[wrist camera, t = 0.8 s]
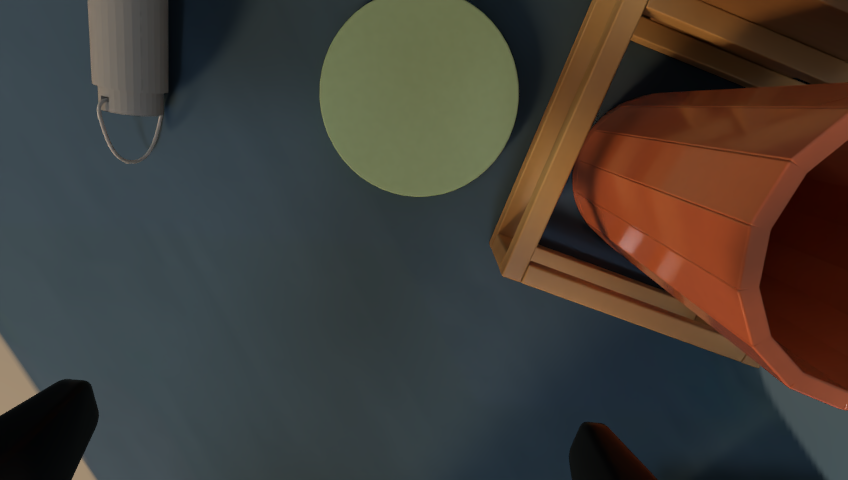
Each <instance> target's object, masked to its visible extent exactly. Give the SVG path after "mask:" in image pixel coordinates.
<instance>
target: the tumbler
mask: <svg viewBox="0 0 848 480" xmlns="http://www.w3.org/2000/svg"><path fill="white" fill-rule="evenodd" d="M573 193H574V197H575V201H576V205H577V207H578V209H579V212H580V214H581V215H582V217H583V219H584V220H585V222H586V223H587V224H588V225H589V227H590V228H591V229H592V230H593V231H594V232H596V233H597V234H598V235H599V236H600V237H601V238H602V239H603V240H604V241H605V242H606V243H607V244H608V245H610V246H611V247H612V248H613V249H615V250H616V251H617V252H618V253H620V254H621V255H622V256H623V257H625V258H626V259H627V260H629V261H630V262H631V263H632V264H634V265H635V266H636V267H637V268H639V269H640V270H641V271H642V272H644V273H645V274H646V275H647V276H649V277H650V278H651V279H652V280H654V281H655V282H656V283H657V284H659V285H660V286H661V287H662V288H664V289H665V290H666V291H667V292H669V293H670V294H671V295H672V296H674V297H675V298H676V299H678V300H679V301H680V302H681V303H683V304H684V305H685V306H686V307H688V308H689V309H690V310H691V311H693V312H694V313H695V314H696V315H698V316H699V317H700V318H701V319H703V320H704V321H705V322H706V323H708V324H709V325H710V326H711V327H713V328H714V329H715V330H716V331H718V332H719V333H720V334H721V335H723V336H724V337H725V338H726V339H728V340H729V341H730V342H732V343H733V344H734V345H735V346H737V347H738V348H739V349H740V350H742V351H743V352H744V353H745V354H747V355H748V356H749V357H750V358H752V359H753V360H754V361H755V362H757V363H758V364H759V365H760V366H762V367H763V368H764V369H765V370H767V371H768V372H769V373H770V374H772V375H773V376H774V377H775V378H777V379H778V380H779V381H780V382H782V383H783V384H784V385H786V386H787V387H788V388H790V389H792V390H795V391H797V392H799V393H802V394H804V395H807V396H809V397H811V398H814V399H816V400H819V401H821V402H824V403H826V404H829V405H831V406H833V407H836V408H838V409H843V410H848V82H845V83H827V84H809V85H791V86H774V87H756V88H738V89H720V90H703V91H685V92H667V93H654V94H650V95H645V96H640V97H637V98H634V99H631V100H628V101H626V102H624V103H622V104H620V105H618V106H617V107H615V108H613V109H612V110H610V111H609V112H608V113H607V114H605V115H604V116H603V117H602V118H601V119H600V120H599V121H598V122H597V123H596V124H595V125H594V126H593V127H592V129H591V130H590V131H589V133H588V135H587V137H586V139H585V141H584V144H583V146H582V148H581V150H580V153H579V155H578V157H577V159H576V161H575V164H574V169H573Z"/></svg>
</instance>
